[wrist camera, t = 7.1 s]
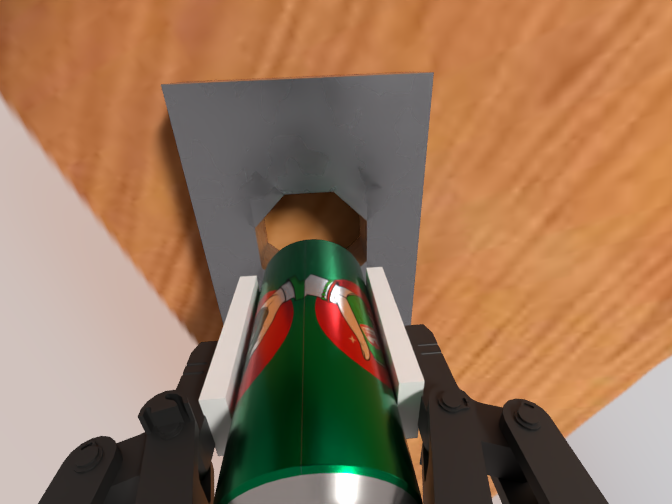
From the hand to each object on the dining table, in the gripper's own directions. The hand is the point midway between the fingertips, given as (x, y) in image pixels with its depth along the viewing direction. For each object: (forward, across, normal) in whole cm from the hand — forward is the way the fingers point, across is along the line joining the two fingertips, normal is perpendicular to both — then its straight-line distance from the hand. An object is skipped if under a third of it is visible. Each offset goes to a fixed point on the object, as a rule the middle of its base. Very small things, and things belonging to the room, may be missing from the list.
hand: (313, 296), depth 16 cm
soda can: (+2, 0, 0) cm, 2 cm away
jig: (+9, 0, 0) cm, 9 cm away
